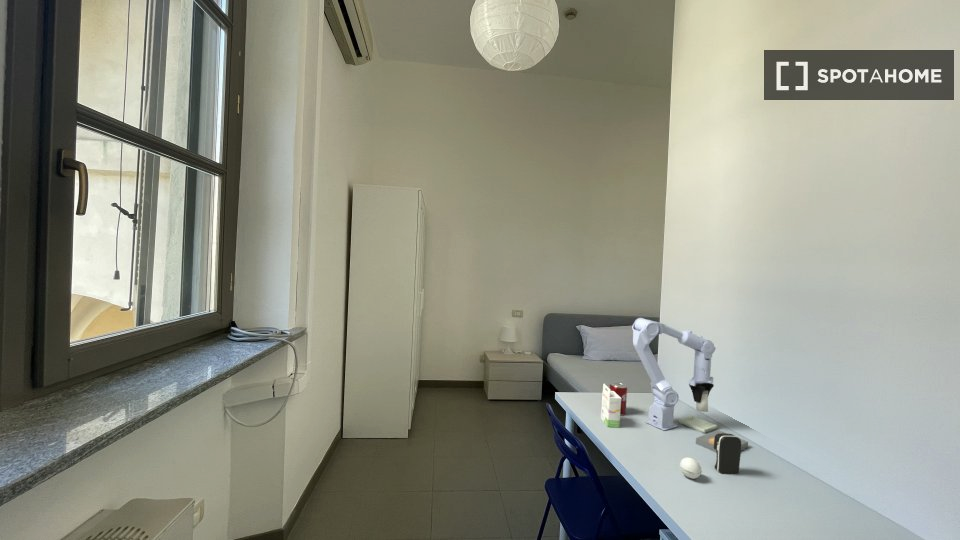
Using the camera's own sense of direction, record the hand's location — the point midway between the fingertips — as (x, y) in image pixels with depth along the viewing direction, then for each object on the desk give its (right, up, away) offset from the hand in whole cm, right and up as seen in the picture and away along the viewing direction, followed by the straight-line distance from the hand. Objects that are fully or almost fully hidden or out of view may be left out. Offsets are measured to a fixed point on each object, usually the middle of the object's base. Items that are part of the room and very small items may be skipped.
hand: (700, 401), depth 143 cm
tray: (-1, -10, 0) cm, 10 cm away
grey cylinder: (0, -3, -1) cm, 4 cm away
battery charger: (-13, -10, -33) cm, 36 cm away
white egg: (-27, -9, -39) cm, 48 cm away
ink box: (-38, -8, -2) cm, 39 cm away
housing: (-2, -10, -16) cm, 19 cm away
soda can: (-31, -9, +9) cm, 33 cm away
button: (-6, -9, -18) cm, 21 cm away
